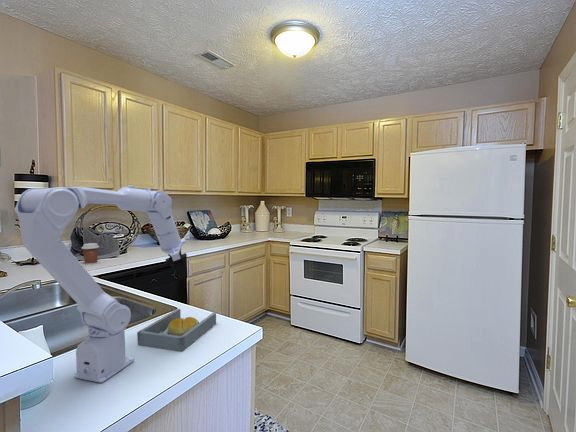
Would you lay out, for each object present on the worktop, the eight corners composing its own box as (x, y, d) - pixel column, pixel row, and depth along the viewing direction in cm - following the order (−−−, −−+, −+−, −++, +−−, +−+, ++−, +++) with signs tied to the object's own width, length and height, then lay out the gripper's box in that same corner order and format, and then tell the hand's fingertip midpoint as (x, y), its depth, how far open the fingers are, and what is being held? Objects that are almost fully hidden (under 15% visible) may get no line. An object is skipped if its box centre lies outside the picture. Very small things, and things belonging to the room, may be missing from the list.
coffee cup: (86, 265, 178) (85, 245, 177) (79, 263, 183) (78, 244, 182) (102, 262, 186) (102, 243, 185) (95, 261, 191) (94, 242, 190)
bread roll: (171, 326, 94) (171, 314, 94) (200, 325, 95) (200, 312, 95) (163, 338, 86) (163, 325, 86) (195, 337, 87) (195, 323, 87)
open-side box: (182, 351, 79) (182, 338, 78) (137, 344, 82) (137, 332, 82) (216, 323, 96) (216, 312, 96) (177, 319, 100) (177, 308, 99)
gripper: (184, 234, 81) (199, 276, 86) (176, 218, 93) (190, 256, 99) (157, 244, 78) (174, 286, 84) (153, 226, 91) (168, 264, 96)
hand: (181, 270), depth 91 cm, fingers open, 7 cm apart
